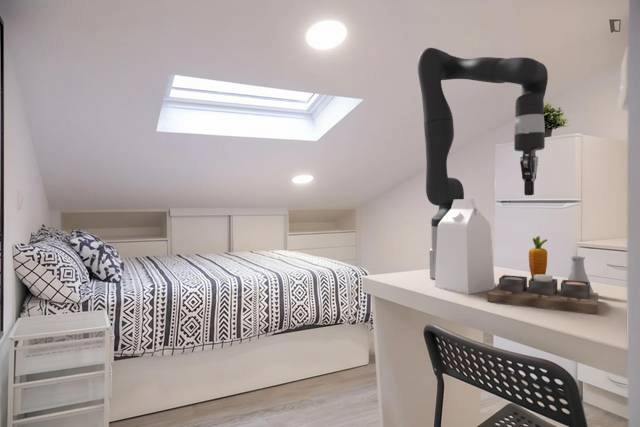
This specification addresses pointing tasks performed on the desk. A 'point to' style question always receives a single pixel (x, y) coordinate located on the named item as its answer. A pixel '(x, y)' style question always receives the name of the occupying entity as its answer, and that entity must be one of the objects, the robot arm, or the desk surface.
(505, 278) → the sage button
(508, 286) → the button board
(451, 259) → the milk
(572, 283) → the terracotta button
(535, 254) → the carrot
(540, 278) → the grey button
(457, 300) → the desk surface
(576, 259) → the flask
